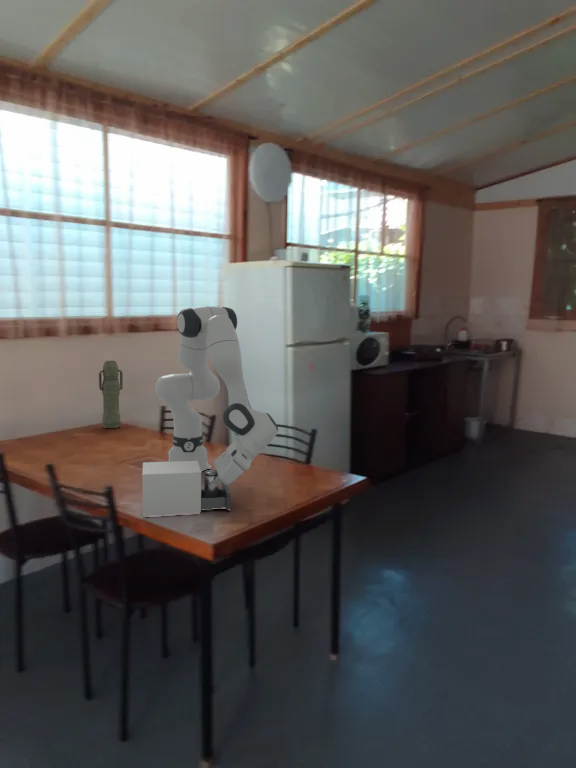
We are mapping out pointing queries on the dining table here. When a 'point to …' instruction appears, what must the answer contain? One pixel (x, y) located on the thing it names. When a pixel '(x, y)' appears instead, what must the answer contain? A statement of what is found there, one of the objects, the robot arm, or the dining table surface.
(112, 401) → the thermos
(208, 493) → the canister
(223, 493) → the grey drawer
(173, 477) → the grey box
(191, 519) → the dining table surface
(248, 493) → the dining table surface
